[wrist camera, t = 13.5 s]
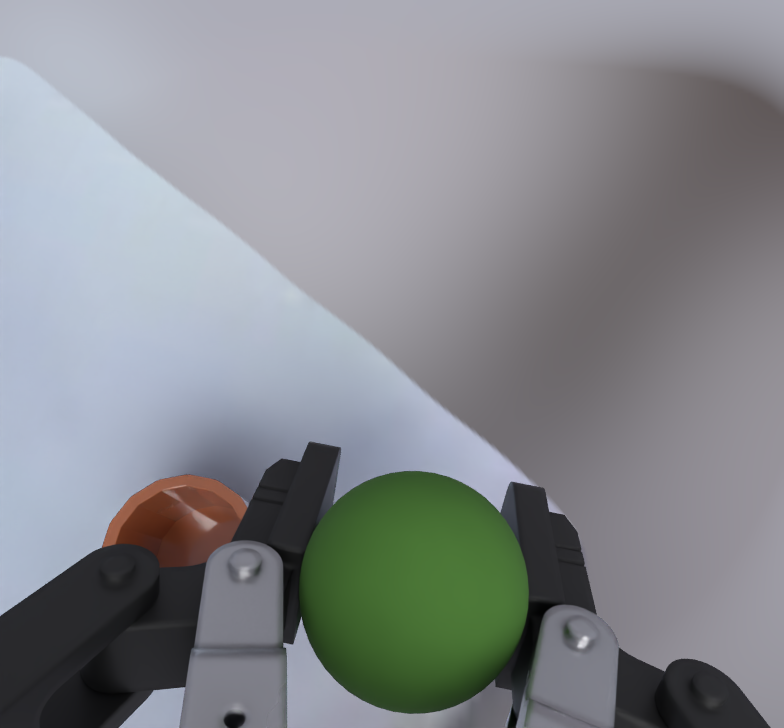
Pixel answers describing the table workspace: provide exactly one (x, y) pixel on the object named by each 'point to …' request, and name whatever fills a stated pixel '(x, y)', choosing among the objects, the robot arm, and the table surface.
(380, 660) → the cucumber
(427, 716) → the table surface
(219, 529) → the cup
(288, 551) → the robot arm
